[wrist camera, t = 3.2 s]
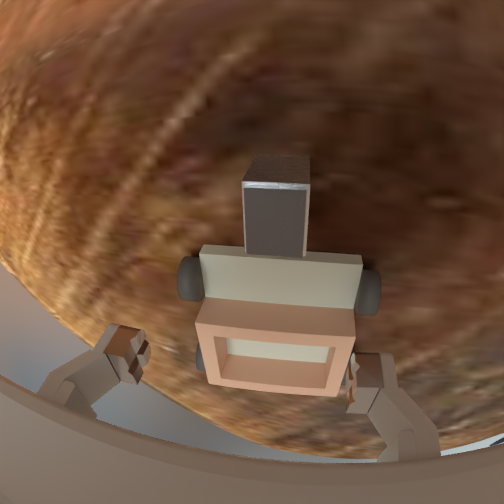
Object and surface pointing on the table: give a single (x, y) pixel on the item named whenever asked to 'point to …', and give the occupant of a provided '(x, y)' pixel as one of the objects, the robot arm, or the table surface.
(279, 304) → the chassis
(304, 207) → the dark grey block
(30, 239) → the table surface
